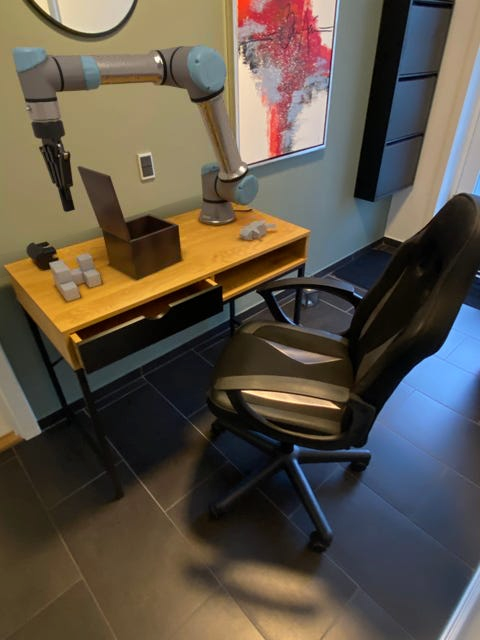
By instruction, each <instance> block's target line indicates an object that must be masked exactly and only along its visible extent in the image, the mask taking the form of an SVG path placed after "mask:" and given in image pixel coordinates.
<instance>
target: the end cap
mask: <svg viewBox="0 0 480 640" xmlns="http://www.w3.org/2000/svg"><path fill="white" fill-rule="evenodd" d="M50 245H51V244H50V243H49V242H48V241H43V242H39V243H35V242H34V241H32V242H30V243H29V244H28V245H27V246H26V251H25V252H26V254H27V256H28V257H29V258H30V259H31V260H32V261H33V262H34V263H35V264H36V265H37V266H38V267H40V268H42V269H45V270H51V268H50V265H49V263H51V262H55V261H59V260H60V259H59V257H58V256H56V257H54V256H55V255H58V252H57V249H56V248H55V247H54V246H50Z"/></svg>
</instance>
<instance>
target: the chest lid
mask: <svg viewBox="0 0 480 640" xmlns="http://www.w3.org/2000/svg"><path fill="white" fill-rule="evenodd" d="M76 168H77V170H78V172H79V173H78V174H79V176H80V179H81V181H82V183H83V186H84V189H85V191H86V194H87V197H88V199H89V203H90V205H91V207H92V210H93V213H94V216H95V218H96V221H97V224H98V227H99V228H100V229H101V230H102V229H103V230H105V231H108V232H110V233H112V234H114V235H116V236H118V237H120V238H123V239H125V240H127V241H131V238H130V235H129V232H128V229H127V226H126V223H125V221H126V220H125V217H124V214H123V210H122V208H121V205H120V201H119V199H118V196H117V193H116V189H115V186H114V183H113V180H112V178H111V177H112V176H111V175H109V174H106V173H102V172H100V171H97V170H93V169H90V168H87V167H85V166H81V165H79V166H77V167H76Z"/></svg>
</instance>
